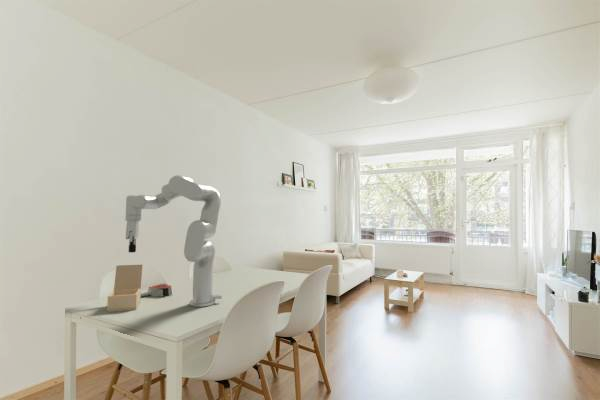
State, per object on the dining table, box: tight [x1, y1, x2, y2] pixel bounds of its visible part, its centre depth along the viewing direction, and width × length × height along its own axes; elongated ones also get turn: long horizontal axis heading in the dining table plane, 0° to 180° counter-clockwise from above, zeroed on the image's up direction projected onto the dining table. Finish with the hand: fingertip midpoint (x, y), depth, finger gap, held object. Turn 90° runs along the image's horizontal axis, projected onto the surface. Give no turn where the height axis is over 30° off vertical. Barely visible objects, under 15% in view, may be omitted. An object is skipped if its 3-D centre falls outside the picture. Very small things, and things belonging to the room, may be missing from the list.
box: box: [106, 288, 142, 313], centre depth 155 cm, size 12×12×7 cm
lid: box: [113, 264, 143, 291], centre depth 163 cm, size 12×12×1 cm
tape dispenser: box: [140, 283, 173, 298], centre depth 177 cm, size 18×5×20 cm
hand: (132, 252), depth 173 cm, fingers closed
